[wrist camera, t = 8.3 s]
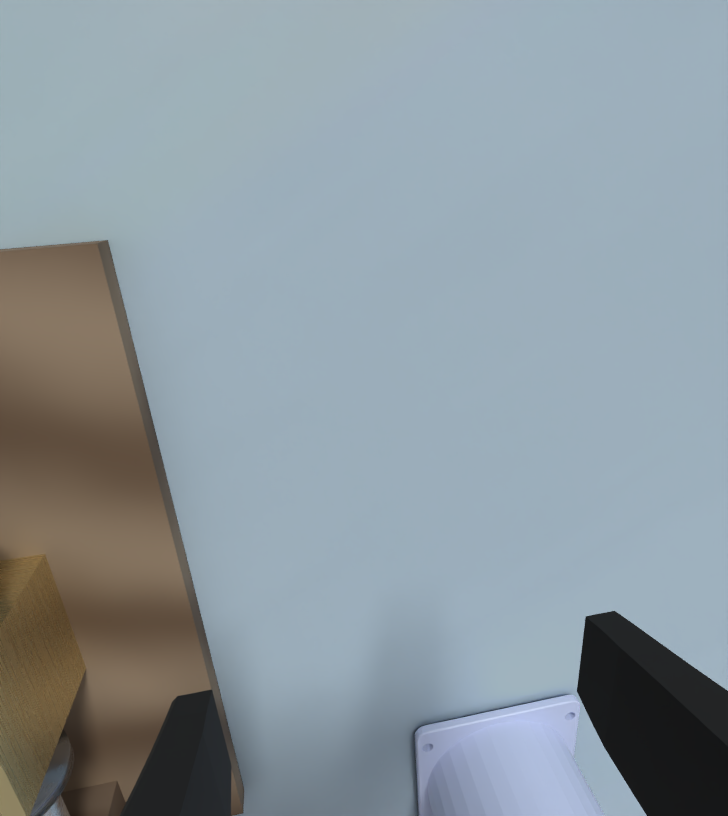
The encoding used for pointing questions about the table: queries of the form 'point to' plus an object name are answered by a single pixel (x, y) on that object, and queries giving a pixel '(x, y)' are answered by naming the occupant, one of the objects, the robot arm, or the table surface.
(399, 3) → the table surface
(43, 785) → the shafts
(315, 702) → the table surface
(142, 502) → the shaft bench
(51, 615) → the wooden block
